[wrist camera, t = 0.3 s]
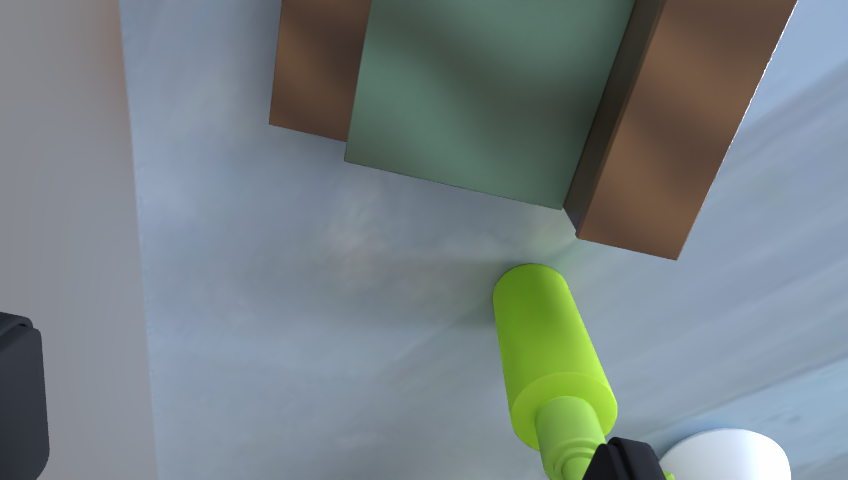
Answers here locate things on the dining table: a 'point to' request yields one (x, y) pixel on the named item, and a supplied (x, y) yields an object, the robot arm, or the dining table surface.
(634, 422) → the dining table surface
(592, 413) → the soap dispenser
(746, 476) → the flower in vase
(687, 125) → the step shelf
